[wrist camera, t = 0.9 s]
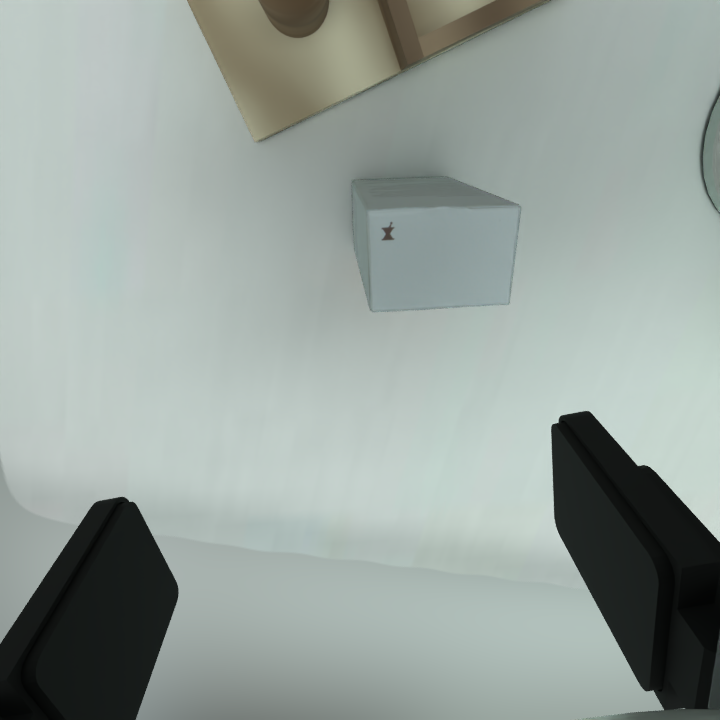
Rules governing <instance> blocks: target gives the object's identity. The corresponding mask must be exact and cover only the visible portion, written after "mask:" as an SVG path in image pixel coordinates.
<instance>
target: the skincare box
mask: <svg viewBox="0 0 720 720" xmlns="http://www.w3.org/2000/svg"><path fill="white" fill-rule="evenodd" d="M520 213H521V207H520V205H518V204H515V203H513V202H510V201H508V200H505V199H503V198H501V197H498V196H496V195H493V194H490V193H488V192H485V191H483V190H480V189H478V188H475V187H472V186H470V185H467V184H465V183H462V182H460V181H457V180H455V179H452V178H449V177H426V178H397V179H371V180H353V181H352V214H353V235H354V250H355V254H356V258H357V262H358V266H359V269H360V274H361V277H362V281H363V285H364V289H365V293H366V296H367V300H368V305H369V308H370V310H371V311H372V312H389V311H407V310H426V309H441V308H455V307H471V306H489V305H508V304H509V303H510V294H511V286H512V278H513V270H514V262H515V254H516V246H517V239H518V230H519V222H520Z"/></svg>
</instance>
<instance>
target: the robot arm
mask: <svg viewBox="0 0 720 720" xmlns="http://www.w3.org/2000/svg"><path fill="white" fill-rule="evenodd" d="M703 169H704V179H705V182H706V186H707V190H708V193H709V196H710V197H711V199H712V201H713V203H714V205H715V207H716V208H717V210H718V211H719V212H720V96H719V98H718V100H717V103H716V105H715V107H714V109H713V111H712V114H711V118H710V121H709V125H708V128H707V132H706V135H705V143H704V151H703ZM551 435H552V463H553V491H554V517H555V523H556V527H557V530H558V533H559V535H560V537H561V539H562V540H563V542H564V544H565V546H566V548H567V550H568V552H569V553H570V555H571V557H572V559H573V561H574V563H575V565H576V567H577V568H578V570H579V572H580V574H581V576H582V578H583V580H584V581H585V583H586V585H587V587H588V589H589V591H590V593H591V595H592V596H593V598H594V600H595V602H596V604H597V606H598V608H599V609H600V611H601V613H602V615H603V617H604V619H605V621H606V622H607V624H608V626H609V628H610V630H611V632H612V634H613V636H614V637H615V639H616V641H617V643H618V645H619V647H620V649H621V650H622V652H623V654H624V656H625V658H626V660H627V662H628V663H629V665H630V667H631V669H632V671H633V673H634V675H635V677H636V678H637V680H638V682H639V683H640V685H641V687H642V688H643V689H644V690H645V691H652V690H654V692H655V694H656V696H657V698H658V699H659V701H660V703H661V705H662V707H663V708H664V710H661V711H648V712H634V713H625V714H617V715H609V716H601V717H593V718H586V719H577V720H720V542H719V541H718V540H717V539H716V538H715V537H714V536H713V535H712V533H711V532H710V531H709V530H708V529H707V528H706V527H705V526H704V525H703V524H702V523H701V521H700V520H699V519H698V518H697V517H696V516H695V515H694V514H693V513H692V512H691V510H690V509H689V508H688V507H687V506H686V505H685V504H684V503H683V502H682V501H681V500H680V498H679V497H678V496H677V495H676V494H675V493H674V492H673V491H672V490H671V489H670V488H669V486H668V485H667V484H666V483H665V482H664V481H663V480H662V479H661V478H660V477H659V475H658V474H657V473H656V472H655V471H654V470H652V469H651V468H650V467H648V466H645V465H642V466H637V465H636V463H635V462H634V461H633V460H632V459H631V458H630V457H629V456H628V454H627V453H626V452H625V451H624V450H623V449H622V448H621V446H620V445H619V444H618V443H617V442H616V441H615V440H614V438H613V437H612V436H611V435H610V434H609V433H608V432H607V430H606V429H605V428H604V427H603V426H602V425H601V424H600V422H599V421H598V420H597V419H596V418H595V417H594V416H593V414H591V413H590V412H589V411H583V412H578V413H573V414H567V415H562V416H560V418H559V423H556V424H553V425H552V427H551ZM177 599H178V585H177V582H176V580H175V578H174V576H173V574H172V572H171V571H170V569H169V567H168V565H167V563H166V561H165V559H164V557H163V555H162V553H161V551H160V549H159V547H158V545H157V544H156V542H155V540H154V538H153V536H152V534H151V532H150V530H149V528H148V526H147V524H146V522H145V520H144V518H143V516H142V514H141V513H140V511H139V509H138V507H137V505H136V504H135V503H134V502H129V501H128V499H126V498H125V497H118V498H113V499H107V500H102V501H98V502H96V503H94V504H93V506H92V507H91V508H90V510H89V511H88V513H87V514H86V516H85V517H84V519H83V520H82V522H81V523H80V525H79V526H78V528H77V529H76V531H75V532H74V534H73V535H72V537H71V538H70V540H69V542H68V543H67V544H66V546H65V547H64V549H63V551H62V552H61V553H60V555H59V557H58V558H57V560H56V561H55V562H54V564H53V565H52V567H51V569H50V570H49V572H48V573H47V574H46V576H45V578H44V579H43V581H42V582H41V584H40V585H39V587H38V588H37V590H36V591H35V593H34V594H33V596H32V597H31V599H30V600H29V602H28V603H27V605H26V606H25V608H24V609H23V611H22V612H21V614H20V615H19V617H18V618H17V620H16V621H15V623H14V624H13V626H12V627H11V629H10V630H9V632H8V633H7V635H6V636H5V638H4V639H3V641H2V642H1V644H0V720H136V717H137V714H138V711H139V708H140V705H141V703H142V700H143V697H144V694H145V691H146V688H147V686H148V683H149V680H150V677H151V674H152V671H153V668H154V665H155V663H156V659H157V657H158V654H159V651H160V648H161V646H162V642H163V640H164V637H165V634H166V631H167V628H168V626H169V623H170V620H171V617H172V614H173V611H174V608H175V606H176V603H177ZM681 708H685V709H681ZM674 709H675V710H674Z"/></svg>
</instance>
